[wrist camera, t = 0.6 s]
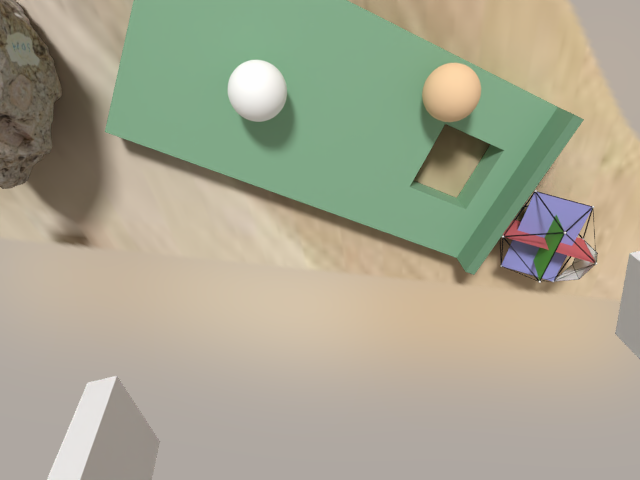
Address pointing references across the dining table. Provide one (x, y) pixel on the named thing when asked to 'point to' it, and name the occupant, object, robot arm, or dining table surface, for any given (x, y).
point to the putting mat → (331, 116)
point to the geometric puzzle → (549, 239)
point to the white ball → (257, 90)
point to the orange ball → (451, 92)
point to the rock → (24, 96)
